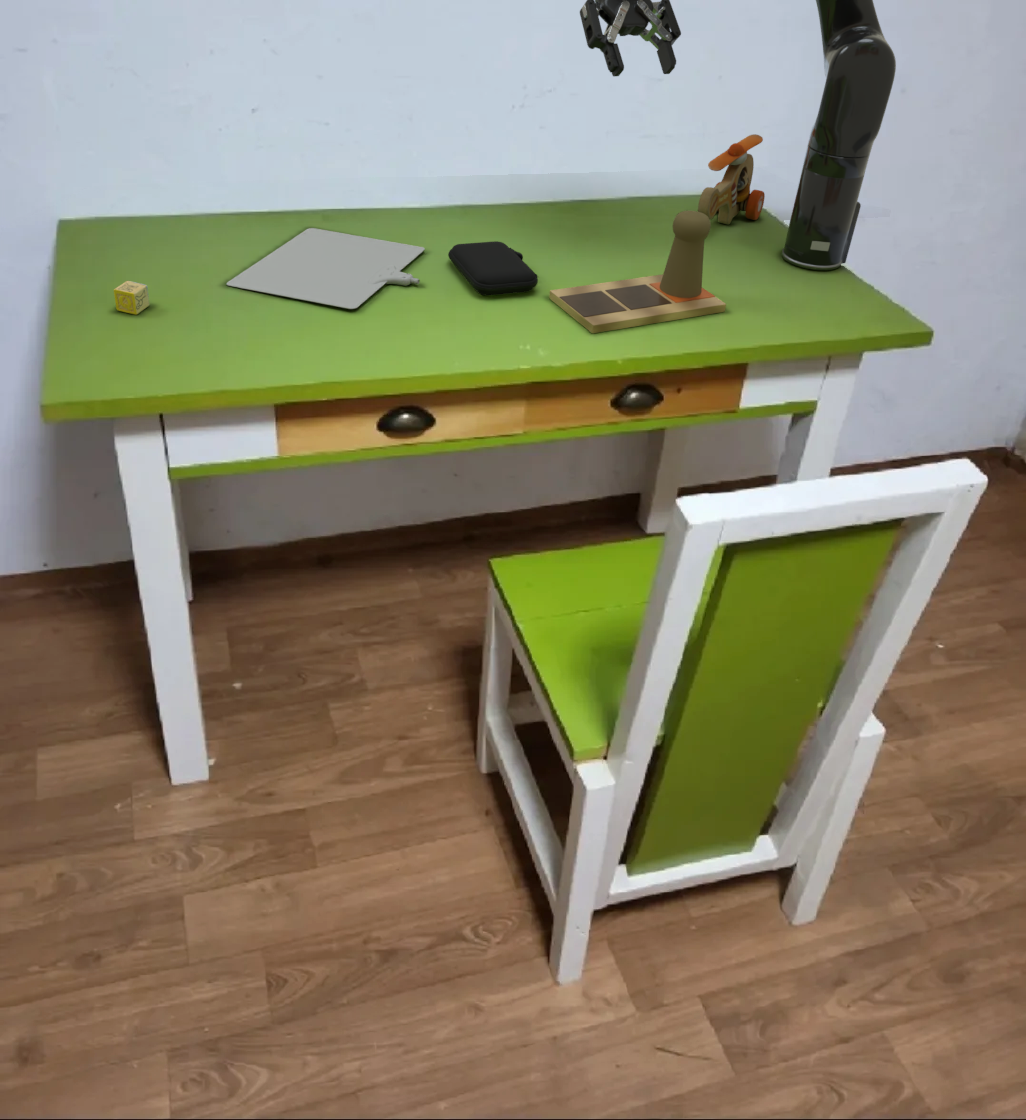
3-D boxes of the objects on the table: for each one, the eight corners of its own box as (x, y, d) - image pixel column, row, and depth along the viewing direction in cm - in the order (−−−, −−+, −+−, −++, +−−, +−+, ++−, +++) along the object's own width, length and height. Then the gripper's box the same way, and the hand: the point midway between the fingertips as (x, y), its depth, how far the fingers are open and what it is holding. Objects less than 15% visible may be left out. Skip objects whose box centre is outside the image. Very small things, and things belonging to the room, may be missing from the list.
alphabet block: (150, 306, 138) (147, 284, 136) (137, 315, 136) (134, 293, 134) (129, 302, 139) (126, 279, 137) (116, 311, 136) (112, 288, 134)
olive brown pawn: (700, 300, 149) (714, 223, 143) (657, 294, 150) (670, 217, 143) (702, 284, 154) (716, 209, 147) (661, 278, 155) (673, 203, 148)
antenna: (381, 319, 140) (381, 310, 139) (224, 288, 145) (223, 280, 145) (450, 256, 159) (451, 248, 158) (309, 231, 164) (309, 224, 164)
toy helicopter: (763, 215, 185) (781, 133, 176) (721, 249, 170) (738, 162, 162) (719, 204, 188) (734, 123, 179) (674, 237, 173) (689, 150, 165)
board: (676, 279, 158) (678, 271, 158) (724, 311, 150) (726, 303, 149) (548, 298, 149) (549, 289, 149) (592, 333, 141) (593, 324, 140)
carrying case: (548, 294, 150) (510, 255, 161) (550, 274, 149) (512, 236, 159) (478, 301, 147) (444, 261, 158) (479, 280, 145) (444, 241, 156)
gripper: (580, -54, 143) (614, 58, 142) (667, -54, 149) (700, 54, 148) (557, -18, 150) (589, 89, 149) (641, -18, 155) (673, 85, 155)
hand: (644, 72), depth 148 cm, fingers open, 8 cm apart
